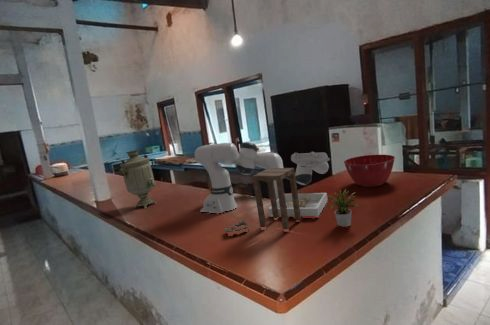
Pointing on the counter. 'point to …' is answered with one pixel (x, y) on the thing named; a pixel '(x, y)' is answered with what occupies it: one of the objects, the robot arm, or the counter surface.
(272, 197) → the walnut stand
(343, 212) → the house plant
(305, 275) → the counter surface
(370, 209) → the counter surface
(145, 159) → the samovar
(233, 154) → the robot arm
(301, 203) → the mallet
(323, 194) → the grey tray
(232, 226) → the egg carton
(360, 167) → the mixing bowl
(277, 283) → the counter surface
